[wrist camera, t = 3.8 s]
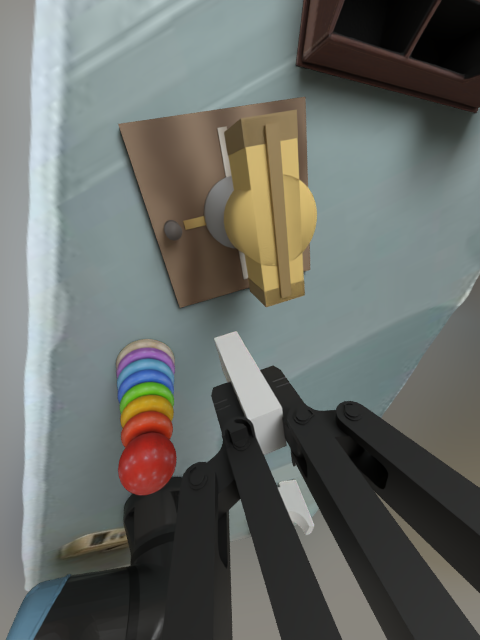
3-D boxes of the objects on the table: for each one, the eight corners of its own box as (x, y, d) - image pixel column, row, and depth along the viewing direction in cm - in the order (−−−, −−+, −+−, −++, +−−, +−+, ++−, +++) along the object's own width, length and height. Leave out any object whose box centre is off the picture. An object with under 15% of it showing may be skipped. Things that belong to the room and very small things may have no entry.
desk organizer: (473, 113, 36) (591, 85, 26) (293, 67, 27) (373, -2, 17) (513, 7, 31) (675, -75, 21) (312, -91, 22) (436, -306, 13)
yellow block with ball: (295, 277, 28) (319, 292, 24) (237, 294, 27) (253, 312, 23) (285, 122, 21) (317, 105, 17) (206, 135, 20) (221, 120, 16)
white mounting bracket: (260, 484, 63) (274, 533, 54) (295, 479, 65) (314, 525, 56) (249, 523, 70) (259, 572, 61) (281, 517, 73) (295, 564, 64)
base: (179, 305, 34) (186, 333, 27) (119, 126, 24) (107, 100, 17) (306, 267, 38) (341, 284, 31) (300, 99, 28) (350, 69, 21)
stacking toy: (115, 381, 37) (89, 527, 21) (118, 335, 34) (88, 462, 18) (170, 381, 40) (184, 507, 24) (177, 337, 36) (197, 449, 21)
